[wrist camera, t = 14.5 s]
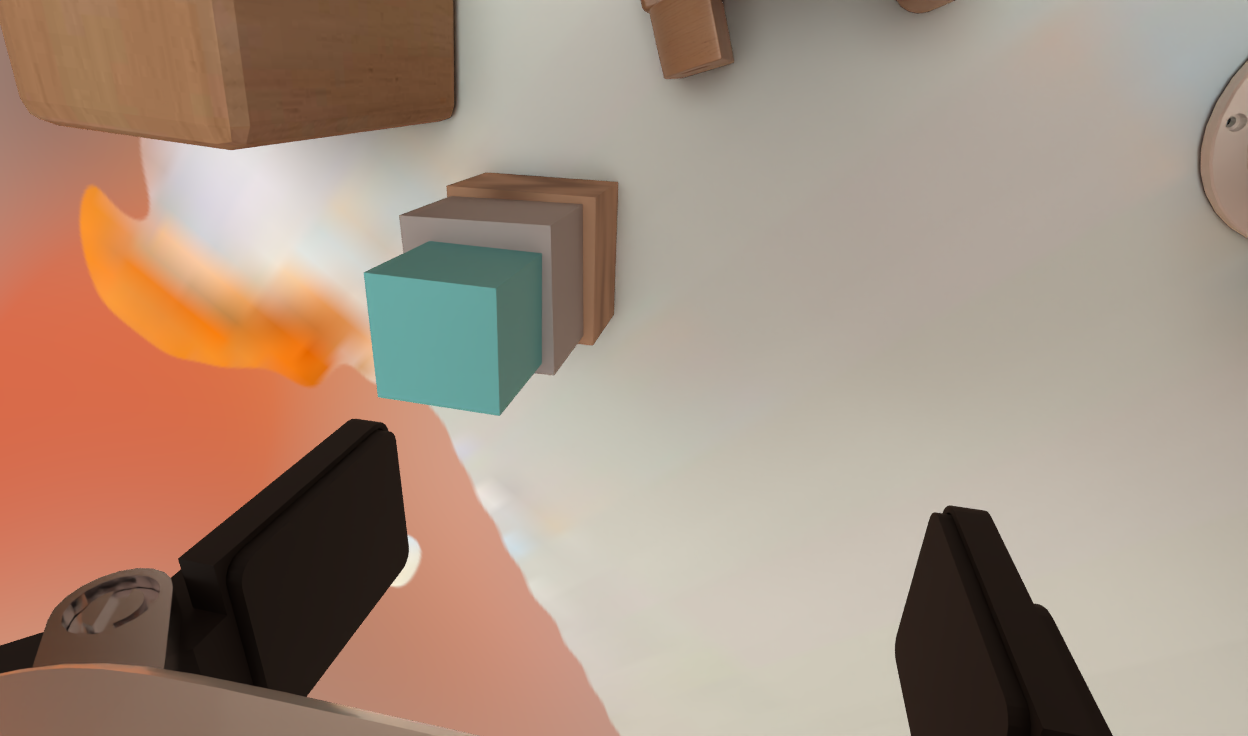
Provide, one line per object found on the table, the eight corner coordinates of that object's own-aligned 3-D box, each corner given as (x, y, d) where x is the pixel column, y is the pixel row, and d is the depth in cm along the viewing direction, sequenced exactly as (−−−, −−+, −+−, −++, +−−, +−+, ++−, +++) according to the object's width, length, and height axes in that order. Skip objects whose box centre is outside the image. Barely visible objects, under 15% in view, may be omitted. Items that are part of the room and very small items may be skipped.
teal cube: (541, 253, 33) (496, 288, 27) (541, 363, 35) (499, 415, 30) (429, 240, 34) (363, 272, 28) (437, 349, 36) (377, 396, 31)
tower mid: (582, 203, 37) (550, 225, 32) (583, 335, 41) (554, 375, 35) (451, 196, 39) (399, 215, 33) (461, 323, 42) (416, 360, 37)
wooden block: (321, 104, 44) (13, 124, 26) (305, -72, 40) (-73, -190, 22) (460, 122, 43) (235, 156, 25) (459, -59, 39) (187, -174, 21)
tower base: (618, 181, 42) (595, 197, 37) (614, 313, 46) (592, 345, 41) (486, 172, 44) (446, 185, 39) (492, 300, 48) (456, 329, 42)
